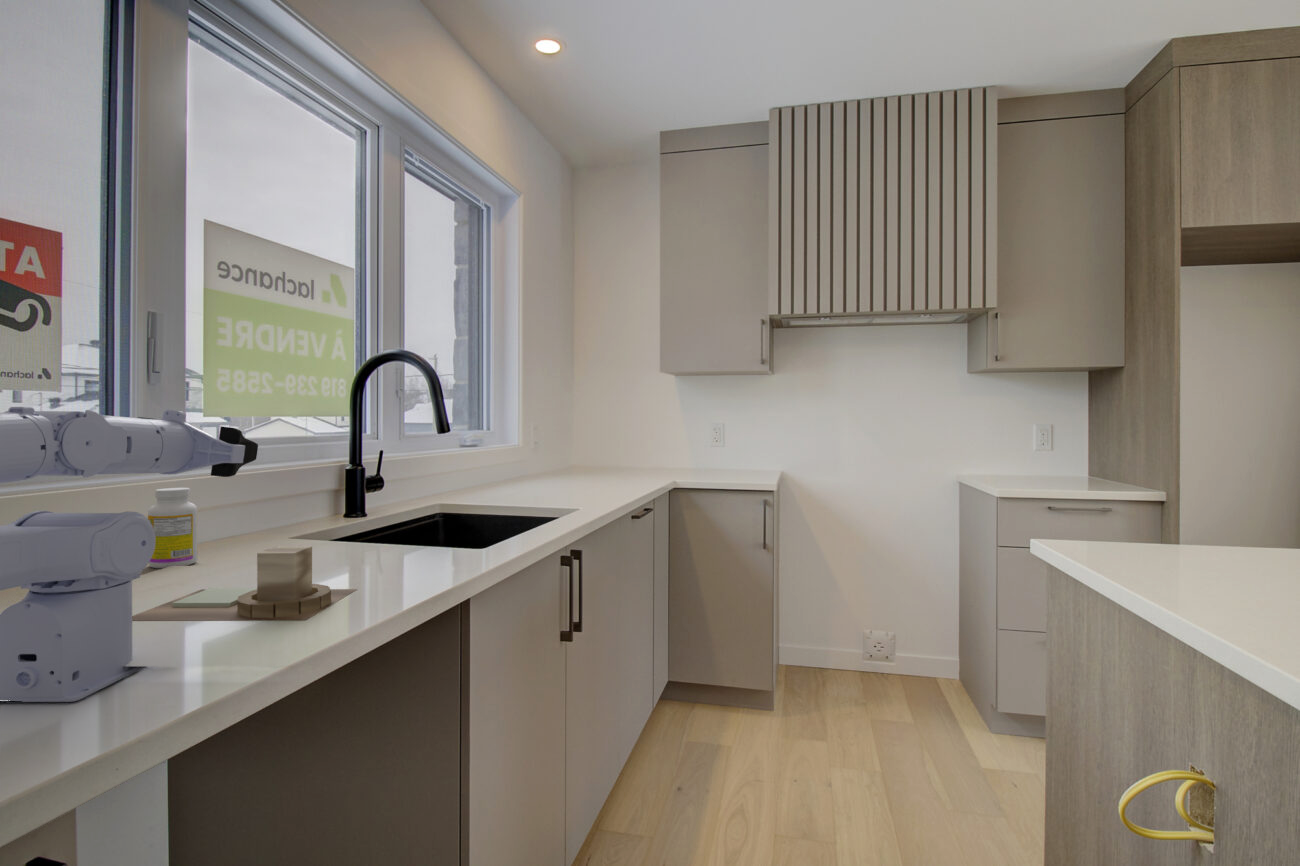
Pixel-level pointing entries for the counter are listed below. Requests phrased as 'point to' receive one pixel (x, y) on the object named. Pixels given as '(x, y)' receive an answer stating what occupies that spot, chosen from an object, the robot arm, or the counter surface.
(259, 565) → the peg
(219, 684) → the counter surface
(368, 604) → the counter surface
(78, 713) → the counter surface
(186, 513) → the supplement bottle
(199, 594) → the sage pad
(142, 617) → the base board
